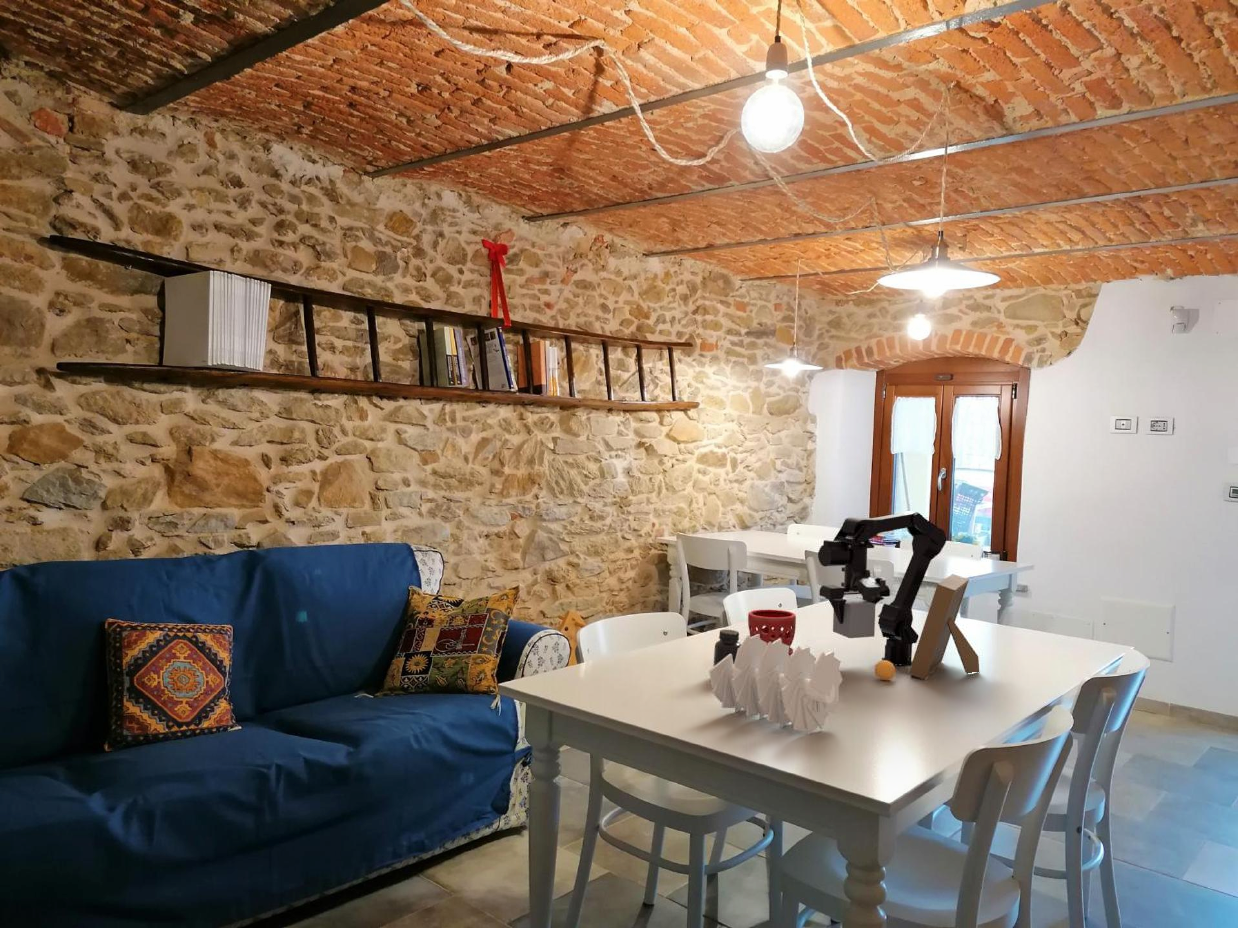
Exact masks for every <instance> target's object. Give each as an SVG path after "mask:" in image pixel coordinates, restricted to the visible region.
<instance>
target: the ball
mask: <svg viewBox="0 0 1238 928" xmlns="http://www.w3.org/2000/svg"><path fill="white" fill-rule="evenodd" d="M874 673H875V675H876V677H877V678H878V679H880V680H881V681H890V680H892V679H893V678H894V677H895V675H896V668H895V665H894V664H892V663H891V662H889V661H887V660H882V659H881V660H879V661H877V663H876V664H875V667H874Z"/></svg>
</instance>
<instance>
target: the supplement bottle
mask: <svg viewBox="0 0 1238 928" xmlns="http://www.w3.org/2000/svg"><path fill="white" fill-rule="evenodd" d="M718 634H719V636H718V639H719V640H718V641H716V642H715V644H714V651H713V666H712V668H713V667H714V666H715V665H716V664H718V663H719V662H720V661H721V660H723V659H724V658H725V657H726V656H728V655H729V654H732V658H733V664H734V663H735V659H736V655H737V650H738V648H739V647H740V646H741V644H742V643H740V642H739V641H740V637H739V636H740V632H739V631H738V630H734V629H721V630H720V631H719V633H718Z"/></svg>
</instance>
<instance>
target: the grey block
mask: <svg viewBox="0 0 1238 928" xmlns="http://www.w3.org/2000/svg"><path fill="white" fill-rule="evenodd" d="M844 599H845V600H847V601H846V602H845V604H844V616H843V624H840V623H839V621H838V619H837V616H836V614H835V611H834V610H833V617H832V618H833V619H832V623H833V624H832V632H834V633H836V634H838V635H840V636H843V637H846V638H848V639H856V638H857V639H858V638H870V637H871V638H873V637H875V629H876V627H875V626H876V625H875V624H876V606H875V603H872V602H869V601H866V600H863V598H859V597H853V598H844Z"/></svg>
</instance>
